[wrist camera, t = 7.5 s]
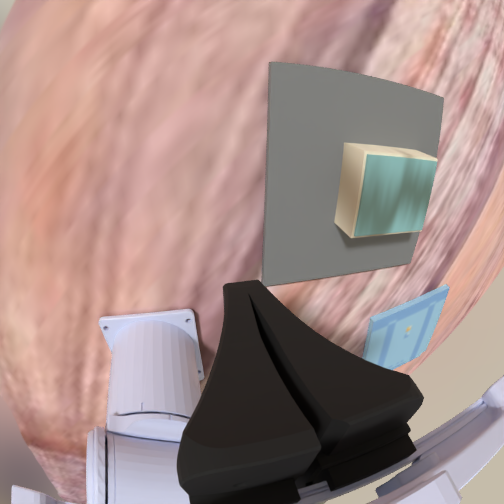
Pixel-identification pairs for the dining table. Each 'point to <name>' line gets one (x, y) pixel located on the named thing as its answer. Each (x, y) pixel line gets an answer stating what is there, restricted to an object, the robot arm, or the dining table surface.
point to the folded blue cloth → (404, 330)
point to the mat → (332, 166)
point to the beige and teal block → (383, 190)
